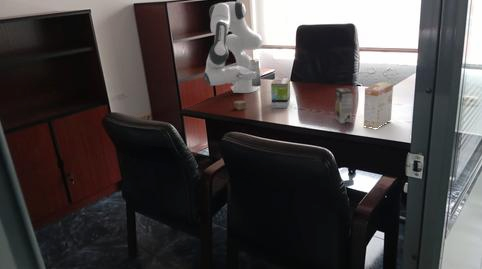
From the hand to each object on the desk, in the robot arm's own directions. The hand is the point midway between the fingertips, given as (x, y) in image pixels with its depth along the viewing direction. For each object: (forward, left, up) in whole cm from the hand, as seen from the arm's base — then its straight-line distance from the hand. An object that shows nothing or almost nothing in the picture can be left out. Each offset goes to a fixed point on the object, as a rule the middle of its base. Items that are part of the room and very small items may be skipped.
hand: (257, 71), depth 223 cm
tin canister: (0, -1, -8) cm, 8 cm away
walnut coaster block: (-12, -7, -24) cm, 27 cm away
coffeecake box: (+52, +41, -24) cm, 70 cm away
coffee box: (+38, +31, -24) cm, 55 cm away
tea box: (-6, +17, -24) cm, 30 cm away
